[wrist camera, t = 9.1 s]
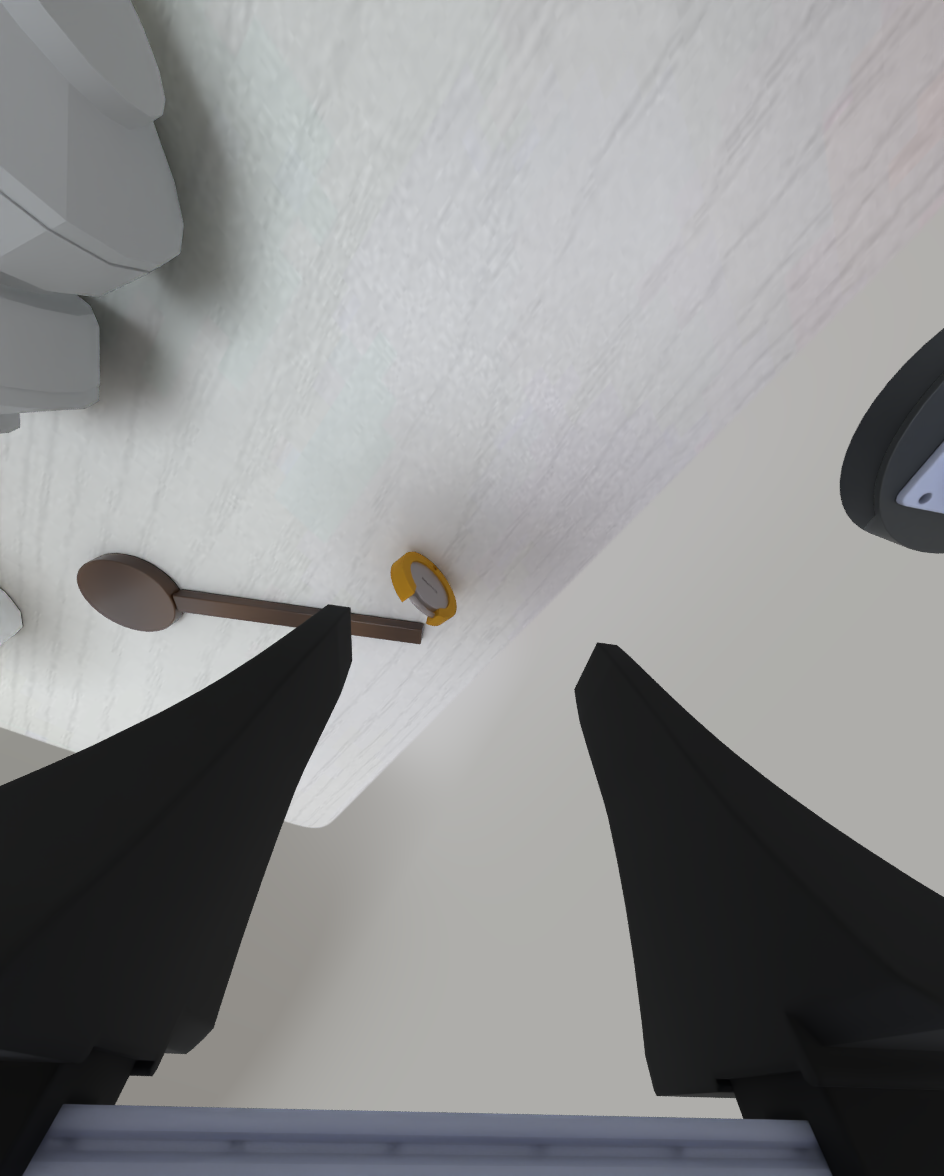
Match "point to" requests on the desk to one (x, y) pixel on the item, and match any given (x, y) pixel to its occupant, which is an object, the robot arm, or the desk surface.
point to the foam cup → (8, 618)
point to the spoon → (199, 602)
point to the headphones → (74, 190)
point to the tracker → (424, 587)
